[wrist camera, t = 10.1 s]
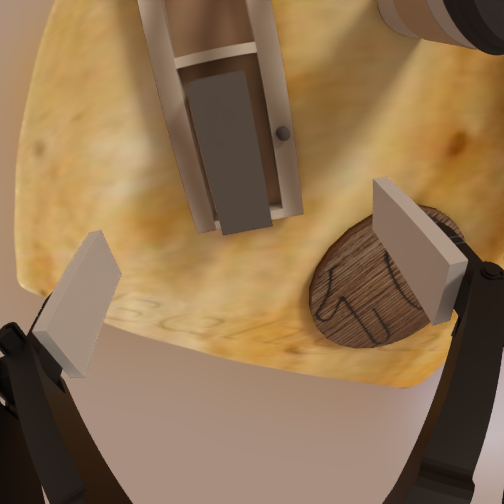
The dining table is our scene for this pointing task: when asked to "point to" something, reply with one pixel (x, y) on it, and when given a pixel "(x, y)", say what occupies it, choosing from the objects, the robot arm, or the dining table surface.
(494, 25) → the coffee cup
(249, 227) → the picture frame
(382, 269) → the trivet
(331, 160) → the dining table surface
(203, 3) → the wooden compartment tray
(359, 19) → the dining table surface
